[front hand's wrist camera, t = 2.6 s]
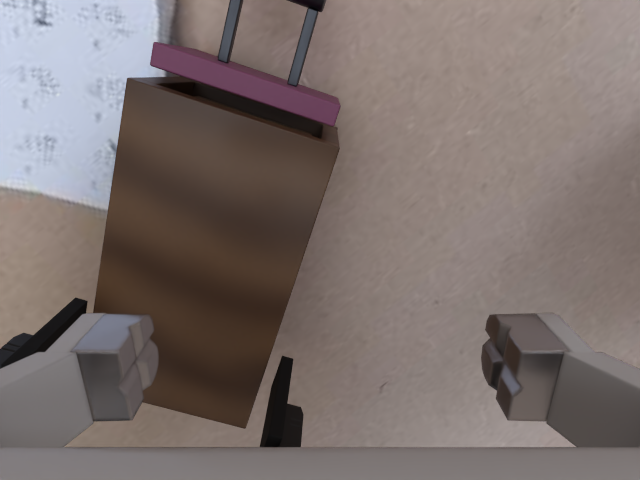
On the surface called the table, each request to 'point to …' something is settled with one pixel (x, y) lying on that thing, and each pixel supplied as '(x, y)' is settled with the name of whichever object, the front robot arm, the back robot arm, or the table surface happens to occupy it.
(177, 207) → the cabinet
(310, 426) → the table surface
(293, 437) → the back robot arm
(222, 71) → the drawer
